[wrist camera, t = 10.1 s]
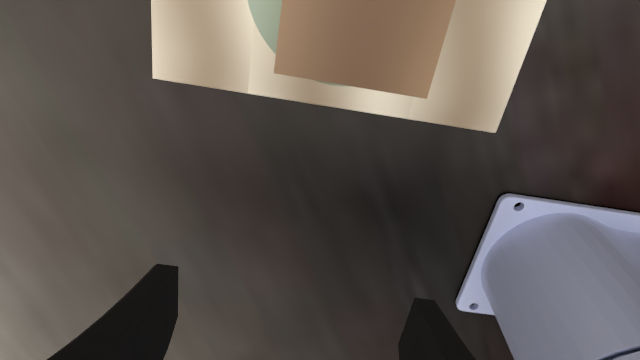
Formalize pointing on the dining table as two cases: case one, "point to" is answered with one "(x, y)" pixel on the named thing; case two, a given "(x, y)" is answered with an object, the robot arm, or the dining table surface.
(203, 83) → the board
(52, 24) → the dining table surface
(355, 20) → the block
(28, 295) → the dining table surface
